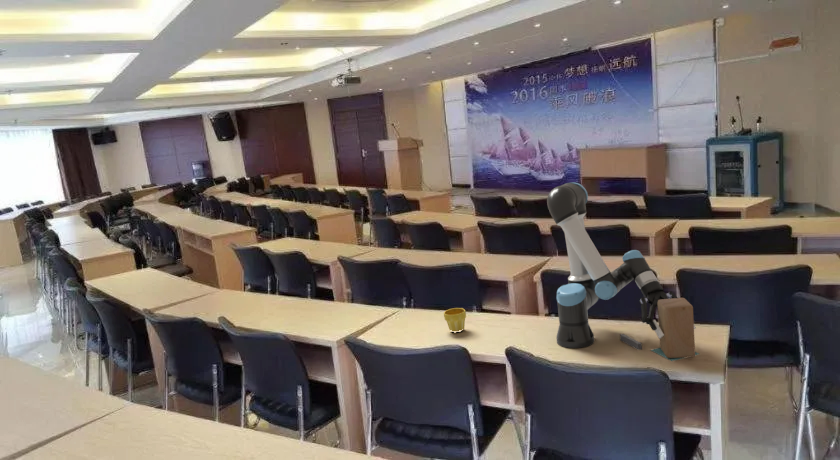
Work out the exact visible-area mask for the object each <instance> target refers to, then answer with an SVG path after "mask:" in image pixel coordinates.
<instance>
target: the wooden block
mask: <svg viewBox="0 0 840 460" xmlns="http://www.w3.org/2000/svg"><path fill="white" fill-rule="evenodd" d="M657 304H658V307H657V317H658V319H657V321H658V325H659V327H660V329H661V331H662V332H663V334H664V336H663V337H662V338H661V339H659V348H661V350H662V351H663V352H664V354H665V355H666V357H667V358H682V357H686V358H693V357H695V356H696V355H695V352H696V345H695V344H696V343H695V329H694V325H695V323H694V307H693V305H692V304H691V302H689V301H688V300H687V299H686V298H685V297H678V298H672V299H660V300H658V302H657ZM667 358H666V359H667ZM682 359H683V358H682Z"/></svg>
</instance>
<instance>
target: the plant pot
mask: <svg viewBox="0 0 840 460" xmlns="http://www.w3.org/2000/svg"><path fill="white" fill-rule="evenodd" d="M443 317H444V320H445V321H446V324H447V326H448V329H449V331H450V330H452V331H459V330H462V329H464V330H465V322H466V318H467V313H466V310H465V309H464V308H463V307H454V308H449V309H446V310H445V311H444V312H443Z"/></svg>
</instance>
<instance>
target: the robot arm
mask: <svg viewBox="0 0 840 460" xmlns="http://www.w3.org/2000/svg"><path fill="white" fill-rule="evenodd" d="M588 194H589V193H588V191H587V190H586V188H585V187H584V186H583V185H582V184H580V183H579V182H567V183H564V184H561V185H558V186H556V187H554V188H553V189H551V190H550V192H549V193H548V195H547V199H546V203H547V204H546V205H547V209H548V210H549V214H550V215H551V218H552V220H553V221H554V222H555V224H556V225H557V226H558V227H560V228H561V230H562V231H563V233H564V238H565V244H566V245H565V246H566V250H567V251H566V252H567V258H568V259H567V260H568V265H569V270H570V275H569V276H568V277H567V282H568V283H567V284H562V285H561V286H560V287H558V288H557V290H556V302H557V311H558V312H557V313H558V322H559V323H558V324H559V325H558V329H557V333H556V343H557V344H558V345H559V346H561V347H564V348H569V349H582V348H587V347H590V346H591V345H593V344H594V343H595V335H594V332H593V331H592V328H591V326H590V324H589V323H590V322H589V315H588V310H589V309H590V308H591V307H592V306H594V305H595V304H597V302H599V300H600V299H601V300H605V301H606V300H607V301H608V300H610V299H612V298H614V297H615V296H616V295H617V294H618V293H619V292H620V291H621V290H622V289H623V288H624V287H626V286H627V285H629V283H631V282H632V281H635V283H636V286H637V287H638V288H639V290H640V292H641V294H642V295H643V296H642V297H641V298H640V300H639V301H638V302H639V304H640V310H641V311H640V313H641V322H642V323H643V324H644V323H645V324H646V325H649V327H650V329H651V330H652V331H654V332H655V334H656V336H657V337H658V339H659V340H660V339H661V338H662V337H663V336H664V334H663V332H662V331H661V329H660V327H659V323H658V322H657V320H656V319H654V315H655V312H656V308H657V309H658V304H657V302H658V300H660V299H672V298H679V297H678V296H676V295H675V293H674V291H671V290H669V292H668V293H665V291H664V289H663V287H662V284H660V281H658V278H657V276H656V275H655V274H654V272H653V270H652V268H651V267H650V265H649V264H648V262H647V260H646V258H645V257H644V256H643V254H642V253H641V251H639V250H637V249H631V250H629V251H627V252H625V253H624V255H623V256H622V257H621V258H622V261H623V263H622V264H621V265H620V266H618V267H616V268H615V269H614V270H613V271H610V269H609V267H608V266H607V264H606V263H605V261H604V259H603V257H602V255H601V254H600V252H599V251H598V249H597V247H596V246H595V244H594V242H593V241H592V239H591V238H590V235H589V233H588V232H587V230H586V227H585V220H584V217H585V216H586V214H587V207H586V206H587V205H586V204H587V202H588V200H589V195H588ZM647 303H648V304H649V311H648V305H647ZM695 329H696V325H695V324H694V330H695Z"/></svg>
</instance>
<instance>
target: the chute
mask: <svg viewBox="0 0 840 460" xmlns="http://www.w3.org/2000/svg"><path fill="white" fill-rule="evenodd" d="M619 340H620V341H621V342H623V343H625V344H626V345H628V346H630V347H632V348H634V349H636V350H638V351H640V350H643V349H642V347H643V345H642V342H641V341H638V340H636V339H634V338H632V337H631V336H629V335H626V334H625V333H620V334H619Z"/></svg>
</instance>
